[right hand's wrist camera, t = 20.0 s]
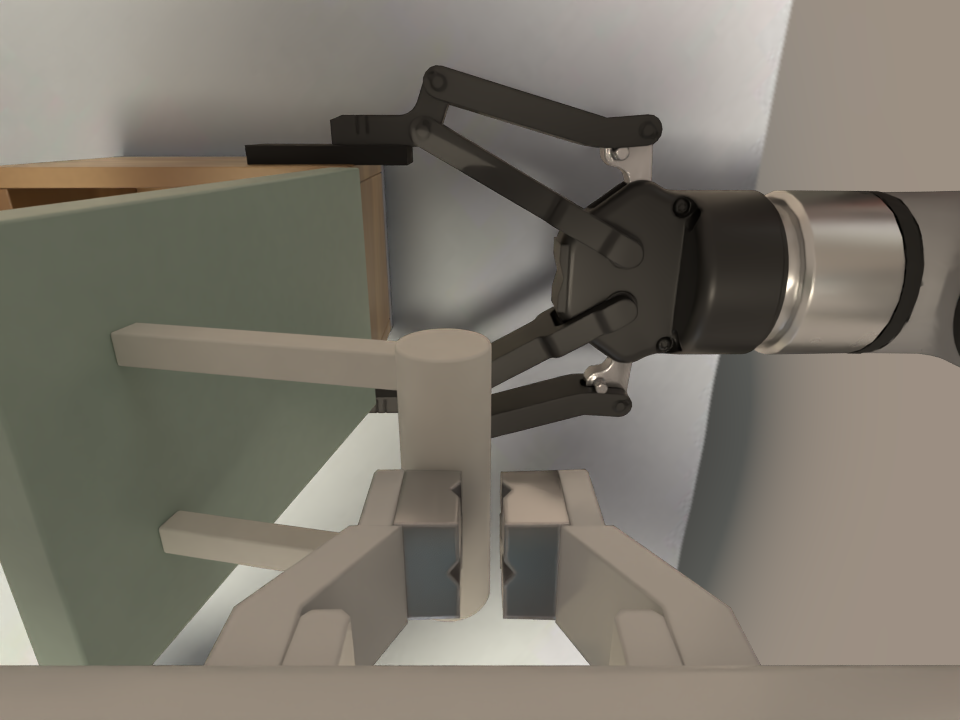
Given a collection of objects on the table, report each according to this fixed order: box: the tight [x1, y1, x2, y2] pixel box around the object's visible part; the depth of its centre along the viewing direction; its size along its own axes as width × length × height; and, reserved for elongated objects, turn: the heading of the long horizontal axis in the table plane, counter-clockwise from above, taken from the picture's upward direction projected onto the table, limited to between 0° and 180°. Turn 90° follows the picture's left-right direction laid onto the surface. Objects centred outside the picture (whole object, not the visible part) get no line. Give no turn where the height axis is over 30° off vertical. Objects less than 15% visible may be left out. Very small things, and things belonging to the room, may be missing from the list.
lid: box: [0, 167, 492, 665], centre depth 16 cm, size 15×10×8 cm
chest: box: [0, 156, 393, 340], centre depth 29 cm, size 14×10×10 cm
